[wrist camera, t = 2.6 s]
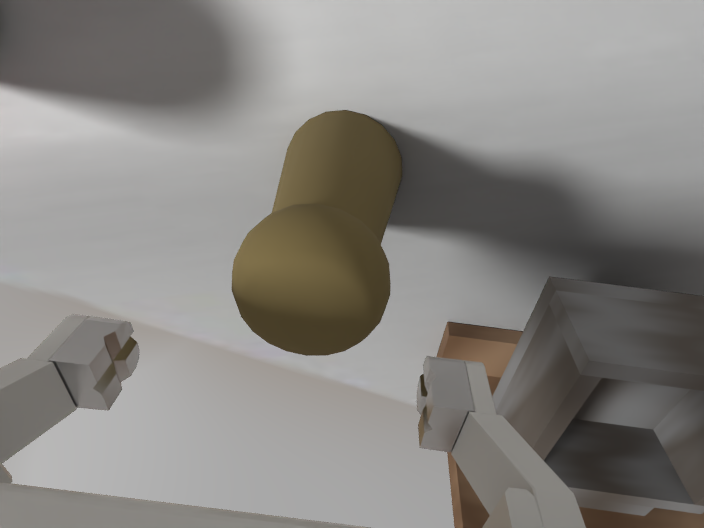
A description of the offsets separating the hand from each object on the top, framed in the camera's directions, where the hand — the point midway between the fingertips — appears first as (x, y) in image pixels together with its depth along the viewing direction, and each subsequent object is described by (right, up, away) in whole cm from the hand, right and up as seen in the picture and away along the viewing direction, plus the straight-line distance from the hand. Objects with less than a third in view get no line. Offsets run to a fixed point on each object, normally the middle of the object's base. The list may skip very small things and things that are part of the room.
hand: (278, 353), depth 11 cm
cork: (+2, +7, +10) cm, 13 cm away
